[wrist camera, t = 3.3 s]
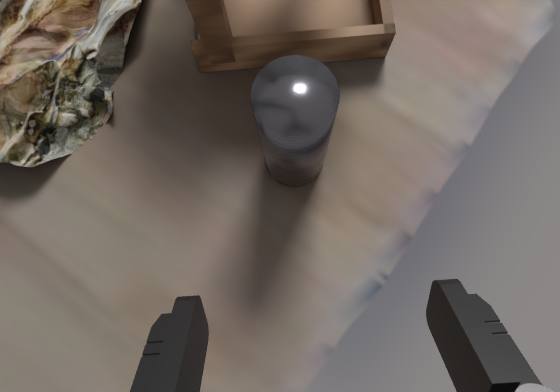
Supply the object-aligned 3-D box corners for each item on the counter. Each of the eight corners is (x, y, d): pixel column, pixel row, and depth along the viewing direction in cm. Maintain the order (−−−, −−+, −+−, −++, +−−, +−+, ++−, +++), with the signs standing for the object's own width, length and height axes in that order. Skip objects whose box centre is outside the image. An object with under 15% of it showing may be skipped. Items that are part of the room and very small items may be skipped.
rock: (-36, 140, 33) (93, 198, 29) (-139, 115, 26) (13, 186, 22) (62, -91, 33) (199, -62, 30) (-14, -175, 27) (153, -150, 23)
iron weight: (267, 188, 27) (253, 140, 17) (264, 134, 28) (248, 58, 18) (326, 184, 27) (344, 132, 17) (320, 129, 28) (334, 51, 18)
